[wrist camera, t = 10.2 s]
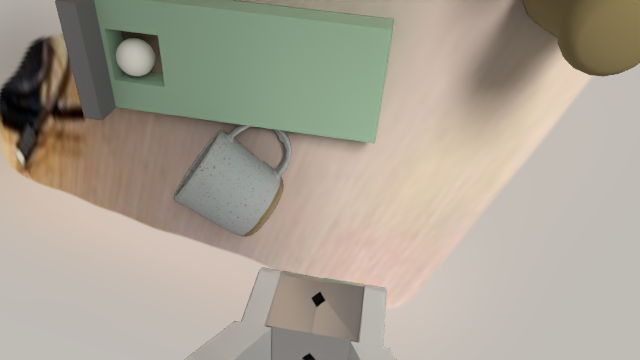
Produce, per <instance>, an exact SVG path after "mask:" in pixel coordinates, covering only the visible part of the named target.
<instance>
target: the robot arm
mask: <svg viewBox="0 0 640 360" xmlns="http://www.w3.org/2000/svg"><path fill="white" fill-rule="evenodd" d="M386 295H387V291H386V288H384V287H378V286H371V285H364V284H360V283H353V282H347V281H340V280H334V279H327V278H318V277H313V276H308V275H302V274H297V273H292V272H287V271H280V270H274V269H269V268H261V270H260V271H259V273H258V275H257V278H256V281H255V284H254V286H253V289H252V292H251V295H250V298H249V301H248V303H247V306H246V309H245V312H244V315H243V317H242V320H241V322H238V321H234V322H233V323H232V324H230V325H229V326H228V327H226V328H225V329H224V330H222V331H221V332H220V333H218V334H217V335H216V336H215V337H213V338H212V339H211V340H209V341H208V342H207V343H205V344H204V345H203V346H201V347H200V348H199V349H197V350H196V351H195V352H193V353H192V354H191V355H189V356H188V357H187V358H185V359H184V360H397V359H396V358H395V356H394V355H393V353H392V351H391V350H390V348H386V347H383V345H384V327H385V312H386Z"/></svg>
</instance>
